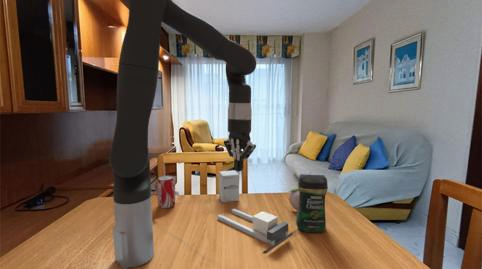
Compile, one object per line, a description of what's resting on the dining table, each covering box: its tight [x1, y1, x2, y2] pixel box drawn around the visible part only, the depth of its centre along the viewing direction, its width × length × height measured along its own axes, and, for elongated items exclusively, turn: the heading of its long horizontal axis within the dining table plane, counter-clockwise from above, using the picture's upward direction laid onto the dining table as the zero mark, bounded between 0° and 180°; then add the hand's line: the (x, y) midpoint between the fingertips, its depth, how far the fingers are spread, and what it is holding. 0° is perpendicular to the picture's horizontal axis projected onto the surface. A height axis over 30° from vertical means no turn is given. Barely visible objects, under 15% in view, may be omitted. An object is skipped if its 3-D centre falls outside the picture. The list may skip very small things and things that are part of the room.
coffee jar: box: [295, 173, 329, 233], centre depth 85 cm, size 10×8×19 cm
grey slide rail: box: [217, 208, 294, 254], centre depth 85 cm, size 24×14×5 cm, turn 46°
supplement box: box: [218, 169, 240, 203], centre depth 109 cm, size 7×7×13 cm
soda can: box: [156, 175, 176, 209], centre depth 104 cm, size 7×7×12 cm
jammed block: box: [252, 211, 278, 236], centre depth 81 cm, size 6×5×6 cm
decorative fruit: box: [288, 188, 300, 211], centre depth 98 cm, size 9×8×10 cm
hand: (238, 170), depth 83 cm, fingers closed
